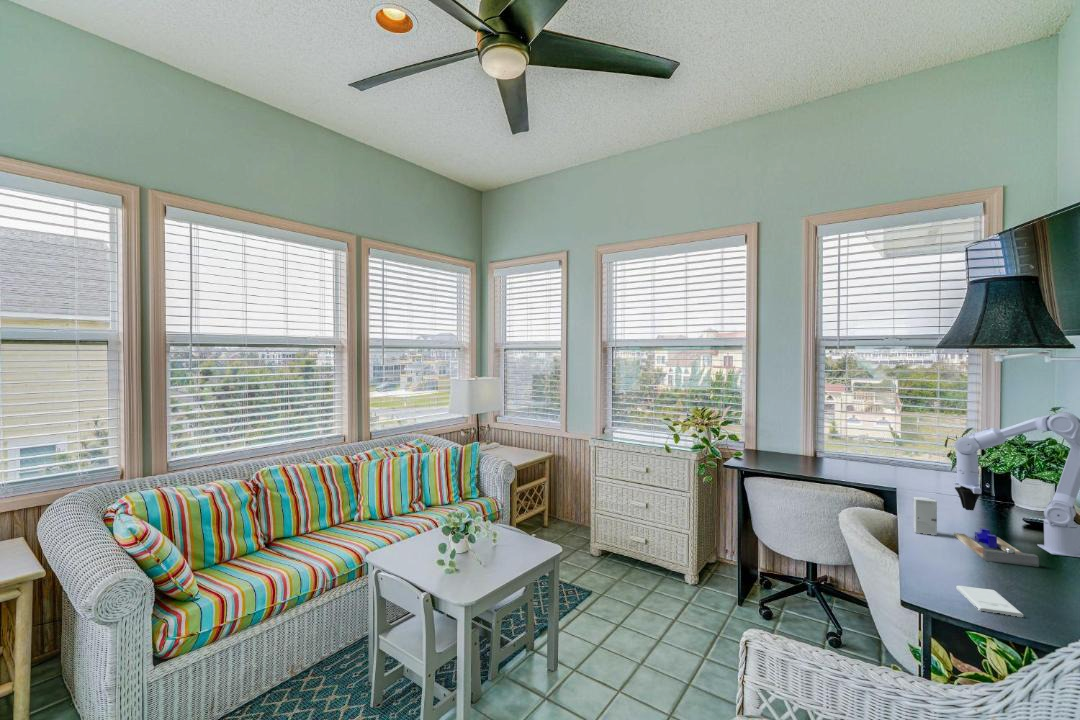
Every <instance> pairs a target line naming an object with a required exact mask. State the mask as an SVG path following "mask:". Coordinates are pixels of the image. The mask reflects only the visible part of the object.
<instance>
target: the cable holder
mask: <svg viewBox="0 0 1080 720" xmlns="http://www.w3.org/2000/svg"><path fill="white" fill-rule="evenodd" d="M979 529H980V530H979V531H980V532H979V531H974V539H975V541H976V542H977V543H979V542H982V543H981V544H984V545H986V546H987V547H988V548H990V549H998V546H997V537H998V536H996V534H991V532H990V529H988V528H982V527H980V528H979Z"/></svg>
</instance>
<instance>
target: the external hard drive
mask: <svg viewBox="0 0 1080 720" xmlns="http://www.w3.org/2000/svg"><path fill="white" fill-rule="evenodd" d="M956 590H957V592H959V593H960V594H961V595H962V596H963V597H964V598H965V599H966V598H967V599H966V600H967V601H969V602H970V604H972V606H974V607H975V606H976V607H977V608H978V609H977V608H976V607H975V608H976V609H977V610H978V611H979V610H980V611H987V612H993V613H992V614H994V613H1000V614H999V615H1004V614H1005V615H1004V616H1008V615H1011V616H1010V617H1015V616H1017V617H1016V618H1022V617H1023V618H1024V614H1023V612H1021V611H1020V610H1019V609H1017V607H1015V606H1014V605H1013V604H1012V603H1010V602H1009V601H1008V600H1007V599H1006V598H1005V597H1003V596H1002V595H1001V594H1000V593H999V592H998V591H996V590H994V589H988V588H981V587H980V588H979V587H972V586H965V585H956ZM980 611H979V612H980ZM987 612H986V613H987Z"/></svg>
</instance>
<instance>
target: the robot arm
mask: <svg viewBox="0 0 1080 720" xmlns="http://www.w3.org/2000/svg"><path fill="white" fill-rule="evenodd" d="M1034 431H1041V432H1048V431H1052V432H1053V433H1055V434H1056V435H1058V436H1060V437H1062V438H1063V439H1064V440H1065V441H1066V442H1067V443H1068V445H1070V449H1069V452H1068V455H1067V458H1066V461H1065V464H1064V467H1063V470H1062V473H1061V475H1060V478H1059V481H1058V485H1057V486H1056V491H1055V493H1054V495H1053V498H1052V500H1051V501H1050V502H1048V504H1047V505H1046V507H1045V508H1044V510H1043V515H1044V519H1043V544H1041V543H1040V544H1038V543H1037V546H1038V548H1041V549H1042V550H1044V551H1045V552H1047V553H1049V554H1050V555H1054V556H1055V555H1056V556H1064V557H1065V556H1066V557H1075V558H1080V525H1078V523H1076V522H1075V521H1074V518H1075V517H1076V515H1077V510H1076V508H1075V504H1076V500H1077V498H1078V494H1079V491H1080V418H1079V417H1077V416H1076V415H1075V414H1074V413H1070V412H1067V411H1061V412H1057V413H1055V414H1053V415H1052V414H1047V415H1042V416H1037V417H1034V418H1030V419H1028V420H1025V421H1022V422H1019V423H1017V424H1013V425H1010V426H1007V427H1004V428H997V427H988V426H986V427H985V428H983V430H982V431H981V430H980V431H978V432H975V433H972V432H970V433H967V435H968V436H967V435H966V436H961V437H960V438H958V439H956V440H955V442H954V448H955V449H956V478H955V479H954V480H955V481H952V484H953V485H956V486H955V487H954V489H955V491H956V493H957V494H958V496H959V498H960V503H961V507H962V508H963V509H965V510H966V511H974V510H975V508H976V504H977V501H978V500H979V497H980V496H981V495H982V488H981V486H980V483H979V480H980V479H979V475H980V474H979V458H978V451H979V450H986V449H989V448H992V447H996V446H998V445H1003V444H1005V442H1006V440H1007V438H1008V439H1009V438H1011V437H1014V436H1019V435H1022V434H1025V433H1030V432H1034Z"/></svg>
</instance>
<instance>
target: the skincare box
mask: <svg viewBox="0 0 1080 720" xmlns="http://www.w3.org/2000/svg"><path fill="white" fill-rule="evenodd" d="M937 509H938V502H937V500H936V499H935V498H930V497H921V496H913V531H914V533H915V532H916V533H915V534H920V533H923V534H922V535H927V534H931V535H930V536H934V535H936V536H938V535H937V532H938V530H937V529H938V527H937V526H938V523H937V521H938V518H937V517H938V514H937V512H938V511H937Z"/></svg>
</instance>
